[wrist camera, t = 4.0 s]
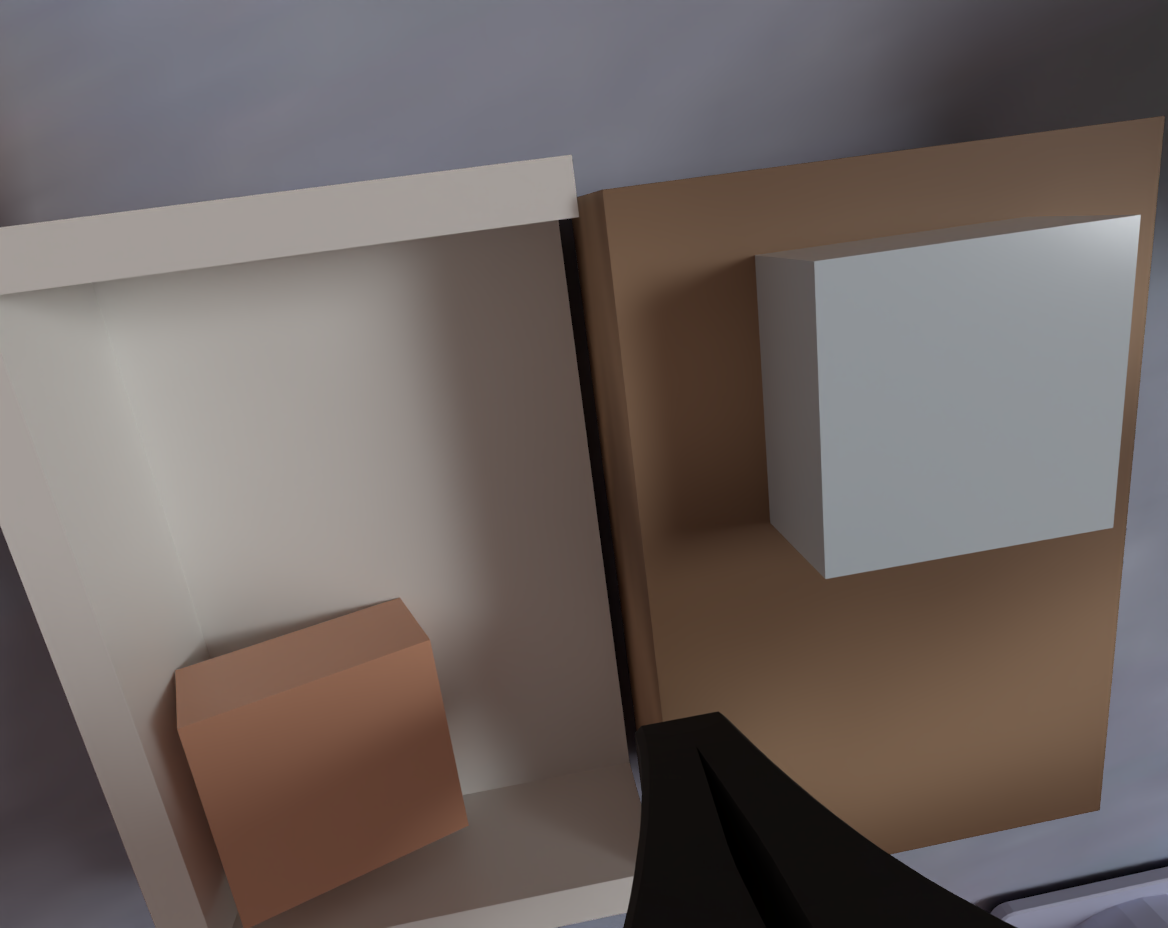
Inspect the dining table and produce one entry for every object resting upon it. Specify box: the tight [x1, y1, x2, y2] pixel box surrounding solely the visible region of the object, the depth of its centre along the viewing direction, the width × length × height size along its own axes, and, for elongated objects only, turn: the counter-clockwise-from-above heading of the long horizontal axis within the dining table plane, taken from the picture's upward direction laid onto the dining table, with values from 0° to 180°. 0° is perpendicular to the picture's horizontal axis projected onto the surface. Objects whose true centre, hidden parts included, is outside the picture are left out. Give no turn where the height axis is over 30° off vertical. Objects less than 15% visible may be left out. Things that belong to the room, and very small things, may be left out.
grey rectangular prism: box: [755, 215, 1141, 579], centre depth 11 cm, size 4×4×2 cm
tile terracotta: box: [175, 598, 469, 928], centre depth 14 cm, size 4×4×2 cm
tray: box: [0, 155, 641, 928], centre depth 14 cm, size 13×9×4 cm, turn 7°
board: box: [571, 116, 1165, 854], centre depth 14 cm, size 12×8×4 cm, turn 7°
